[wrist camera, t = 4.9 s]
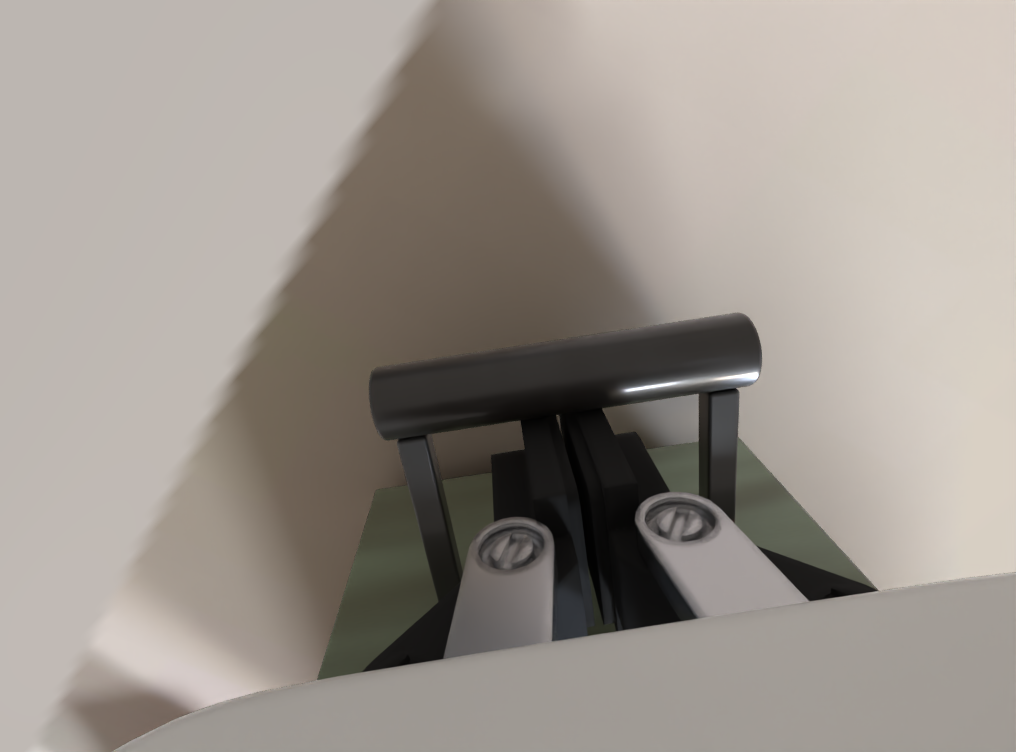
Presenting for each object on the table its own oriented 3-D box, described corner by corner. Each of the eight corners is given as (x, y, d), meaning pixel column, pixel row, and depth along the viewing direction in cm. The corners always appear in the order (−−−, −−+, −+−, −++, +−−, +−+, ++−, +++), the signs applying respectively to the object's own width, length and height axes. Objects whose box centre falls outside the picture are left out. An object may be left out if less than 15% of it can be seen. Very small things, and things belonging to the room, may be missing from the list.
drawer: (324, 314, 14) (165, 479, 7) (744, 250, 14) (1018, 350, 7) (454, 758, 22) (441, 1056, 15) (728, 719, 22) (851, 1000, 14)
